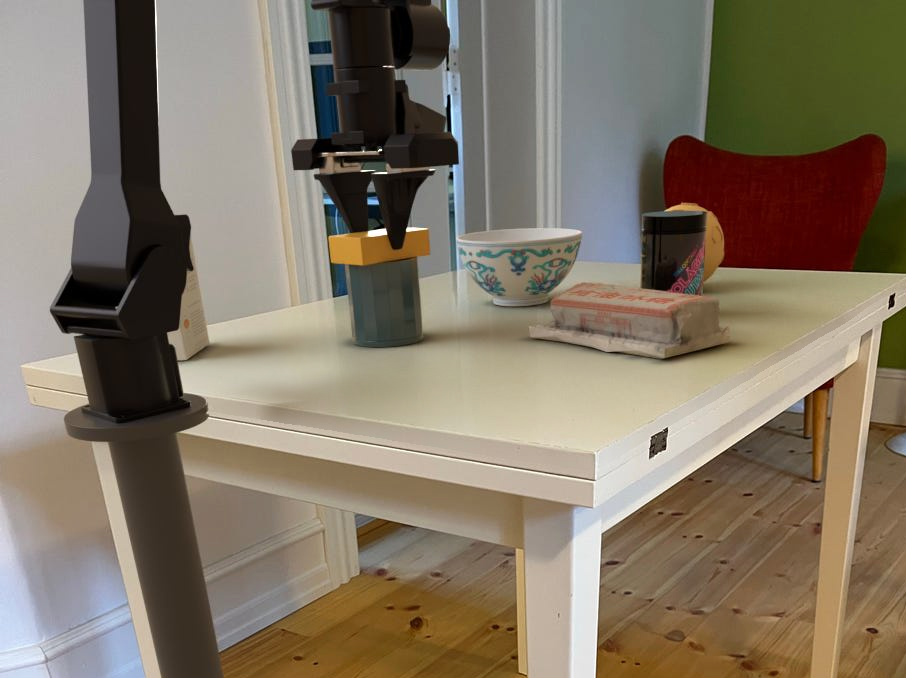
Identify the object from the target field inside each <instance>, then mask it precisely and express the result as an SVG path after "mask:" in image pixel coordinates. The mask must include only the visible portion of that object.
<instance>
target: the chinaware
mask: <svg viewBox="0 0 906 678" xmlns="http://www.w3.org/2000/svg"><path fill="white" fill-rule="evenodd" d="M582 237H583V232H582V231H581V230H578V229H574V228H561V227H533V228H532V227H531V228H530V227H529V228H526V227H525V228H508V229H506V228H505V229H495V230H486V231H476V232H469V233H464V234H461V235H458V236H456V238H455V240H456V245H457V250H458V253H459V257H460V259H461V261H462V264H463V266H464V268H465V270H466V272H467V273H468V275H469V277H471V279H472V280H473V282H475V284H476V285H478V286H479V287H480V289H482V290H483V291H485V292H486V293H488V294H489V295H490V296H492V302H493V304H494V305H496V306H500V307H529V306H538V305H542V304H546V303H547V302H548V301H549V294H550V293H551V292H552V291H554V290H556V288H557V287H559V286H560V284H562V282H563V281H565V279H566V278H567V276H568V275H569V274H570V272H571V270H572V268H573V267H574V264H575V262H576V260H577V257H578V254H579V252H580V248H581V243H582Z"/></svg>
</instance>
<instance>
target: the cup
mask: <svg viewBox="0 0 906 678" xmlns="http://www.w3.org/2000/svg"><path fill="white" fill-rule="evenodd" d="M344 270H345V279H346V289H347V298H348V308H349V317H350V327H351V328H350V329H351V337H352V342H353V344H354V345H356V346H359V347H364V348H389V347H390V348H392V347H401V346H407V345H412V344H415V343H418V342H421V341H422V340H423V339H424V326H423V324H424V323H423V312H422V297H421V284H420V270H419V257H414V258H407V259H401V260H395V261H389V262H382V263H376V264H370V265H364V266H362V265H349V264H344Z"/></svg>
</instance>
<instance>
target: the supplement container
mask: <svg viewBox="0 0 906 678" xmlns="http://www.w3.org/2000/svg"><path fill="white" fill-rule="evenodd" d="M706 226H707V212H705V211H665V210H662V211H653V212H652V211H651V212H645V213H642V214H641V229H640V231H641V247H640V248H641V249H640V284H639V288H641V289H650V290H659V291H668V292H676V293H683V294H690V295H700V296H704V283H703V278H704V260H705V242H706V230H707V227H706Z"/></svg>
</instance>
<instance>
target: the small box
mask: <svg viewBox="0 0 906 678" xmlns="http://www.w3.org/2000/svg"><path fill="white" fill-rule="evenodd" d="M189 249H190V258H191V261H192V264H193V268H194V270H193V271H187V281H186V287H185V291H184V293H183V295H182V301H181V312H180V323H179V329H178V330H177V331H172V332H168V333H167V335H168V340H169V344H172V345H173V346H175V349H176V355H177V360H178V361H188V360H189V359H190V358H191V357H193V356H194V355H195V354H197V353H198V352H200V351H201V350H203V349H204V348H206V347H207V346H209V345H210V344H211V342H210V337H209V331H208V326H207V319H206V315H205V310H204V304H203V298H202V293H201V292H202V291H201V288H200V286H201V285H200V280H199V275H198V268H197V263H196V256H195V252H194V246H193V240H192V234H190V246H189ZM116 309H117V307H116Z"/></svg>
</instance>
